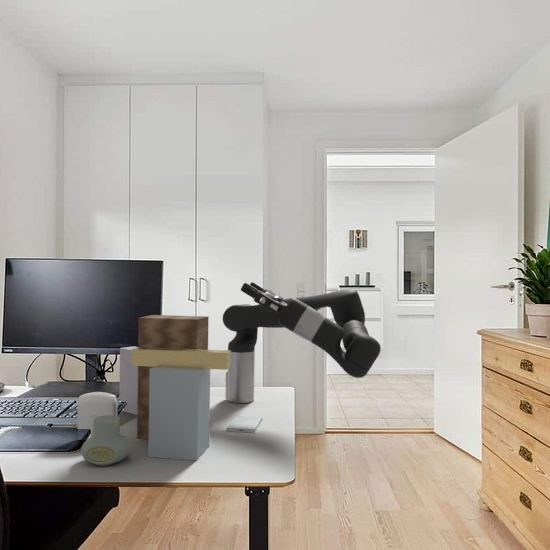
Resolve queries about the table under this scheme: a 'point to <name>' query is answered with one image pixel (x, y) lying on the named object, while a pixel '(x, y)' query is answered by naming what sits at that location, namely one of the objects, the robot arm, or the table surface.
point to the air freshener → (106, 442)
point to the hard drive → (244, 424)
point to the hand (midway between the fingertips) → (246, 285)
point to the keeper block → (179, 412)
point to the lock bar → (181, 358)
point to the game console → (128, 380)
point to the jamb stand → (165, 335)
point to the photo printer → (94, 408)
